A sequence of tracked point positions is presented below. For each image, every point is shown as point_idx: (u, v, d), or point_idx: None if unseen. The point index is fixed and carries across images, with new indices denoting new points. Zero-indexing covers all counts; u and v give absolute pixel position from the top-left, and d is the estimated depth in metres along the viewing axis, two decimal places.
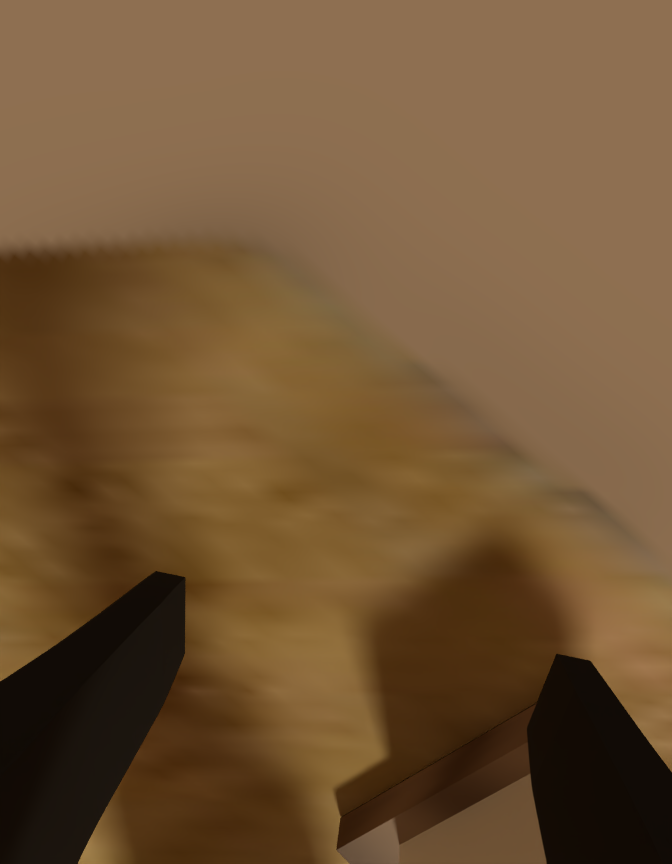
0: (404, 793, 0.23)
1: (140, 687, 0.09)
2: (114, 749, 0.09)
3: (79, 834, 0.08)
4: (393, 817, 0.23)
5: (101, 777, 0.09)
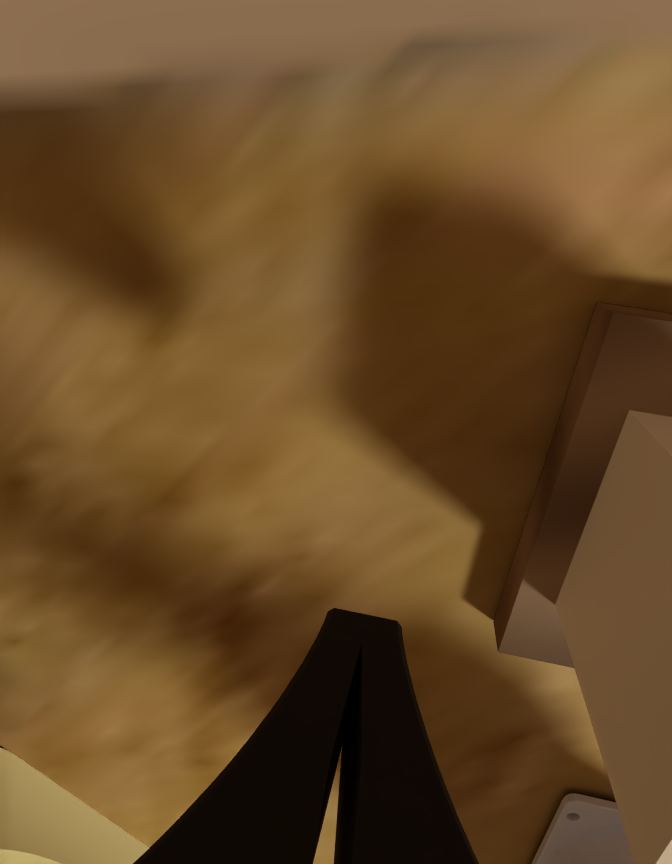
0: (523, 549, 0.18)
1: (342, 733, 0.09)
2: (326, 799, 0.08)
3: None
4: (522, 579, 0.18)
5: (319, 830, 0.08)
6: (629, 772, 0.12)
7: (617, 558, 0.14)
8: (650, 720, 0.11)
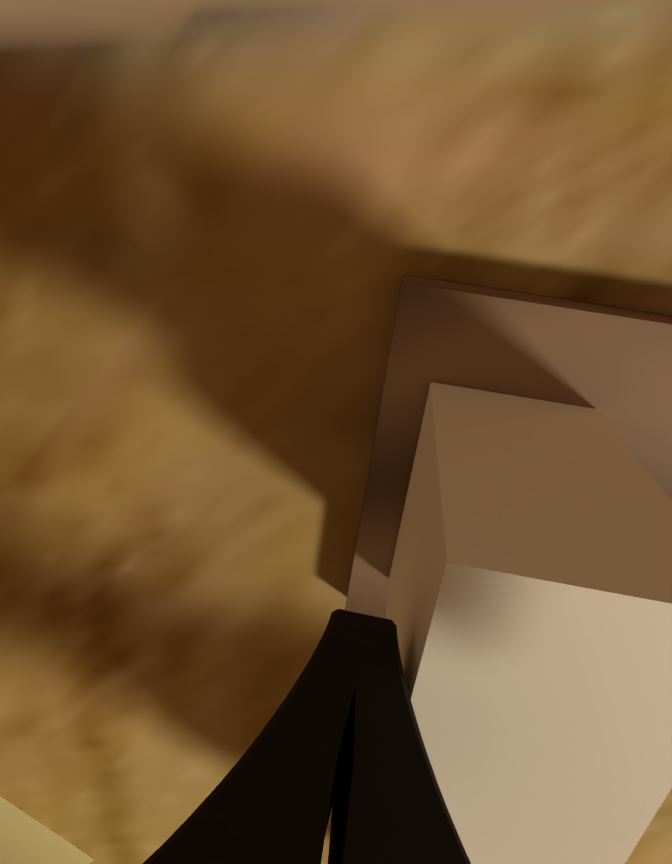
0: None
1: None
2: (331, 801, 0.08)
3: None
4: None
5: None
6: None
7: (408, 528, 0.14)
8: None
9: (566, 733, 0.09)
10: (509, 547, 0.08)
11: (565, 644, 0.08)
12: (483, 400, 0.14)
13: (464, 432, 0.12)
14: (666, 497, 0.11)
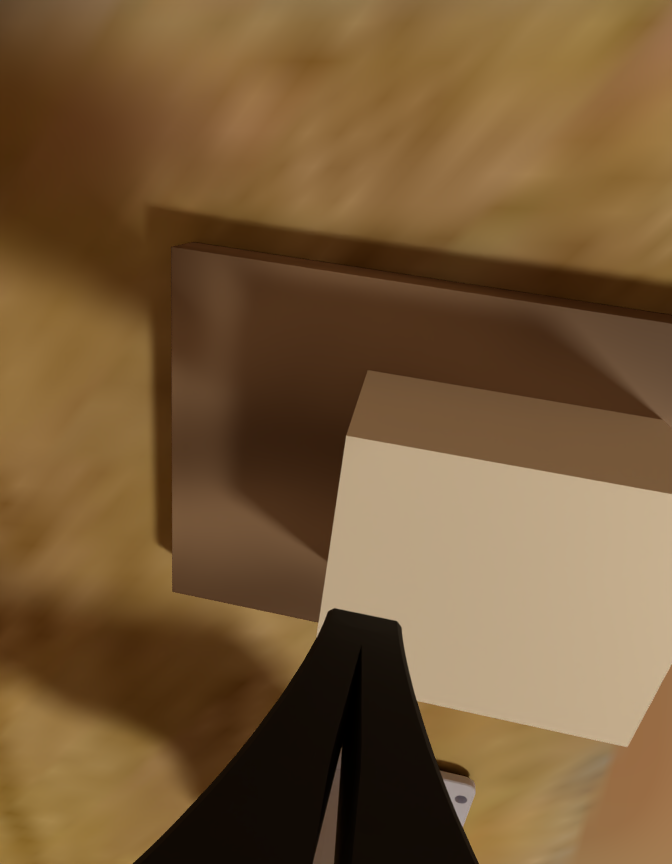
0: None
1: (342, 733, 0.09)
2: (326, 799, 0.08)
3: None
4: (172, 517, 0.18)
5: (319, 830, 0.08)
6: (569, 706, 0.13)
7: (433, 582, 0.12)
8: (581, 662, 0.13)
9: None
10: None
11: None
12: (389, 417, 0.12)
13: (496, 449, 0.11)
14: (532, 399, 0.15)
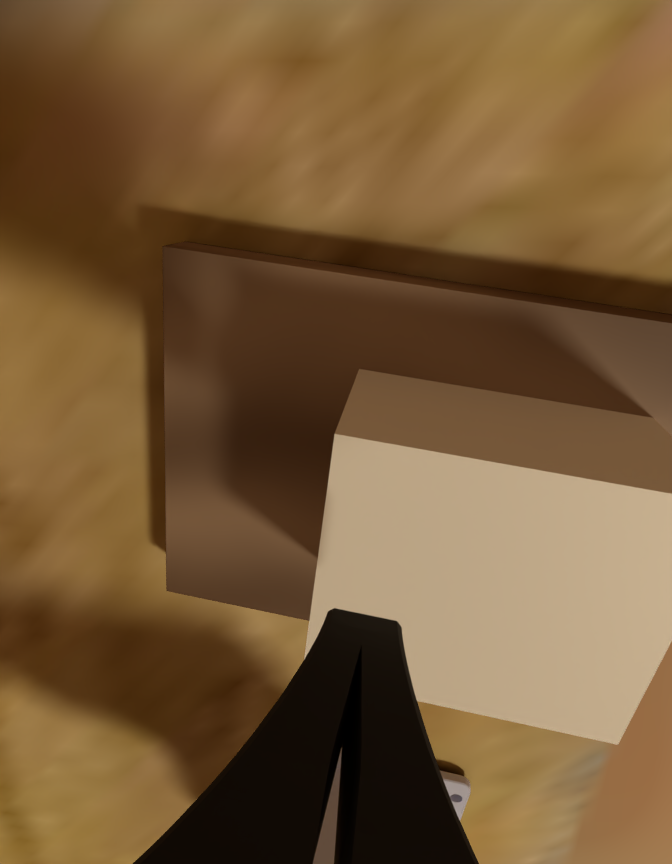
0: None
1: (341, 733, 0.09)
2: (326, 800, 0.08)
3: None
4: (166, 516, 0.18)
5: (319, 830, 0.08)
6: (559, 704, 0.13)
7: (423, 580, 0.12)
8: (570, 659, 0.13)
9: None
10: None
11: None
12: (378, 415, 0.12)
13: (485, 447, 0.11)
14: (523, 398, 0.15)
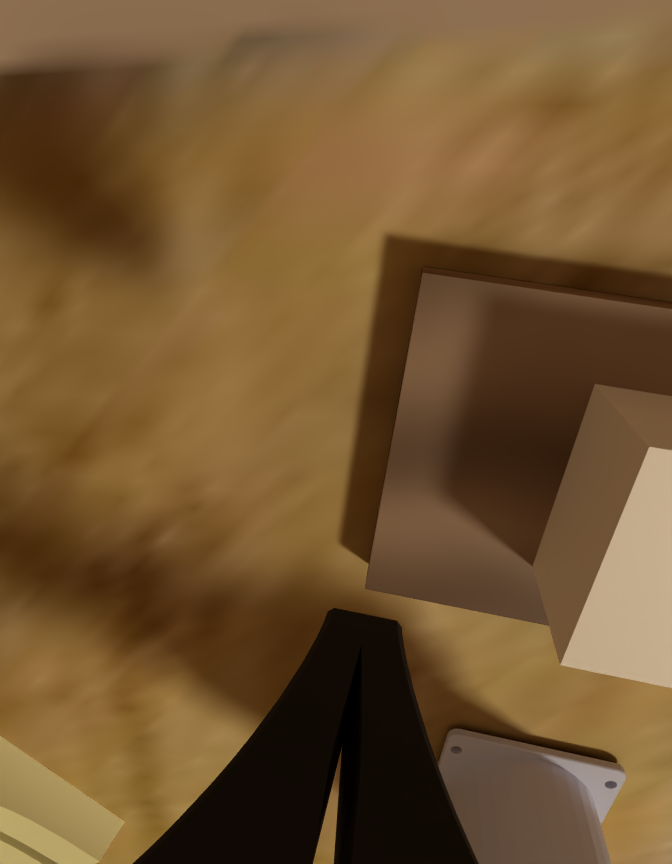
0: (381, 494, 0.20)
1: (342, 733, 0.09)
2: (326, 800, 0.08)
3: None
4: (377, 519, 0.20)
5: (319, 830, 0.08)
6: None
7: None
8: None
9: None
10: None
11: None
12: (662, 429, 0.14)
13: None
14: None
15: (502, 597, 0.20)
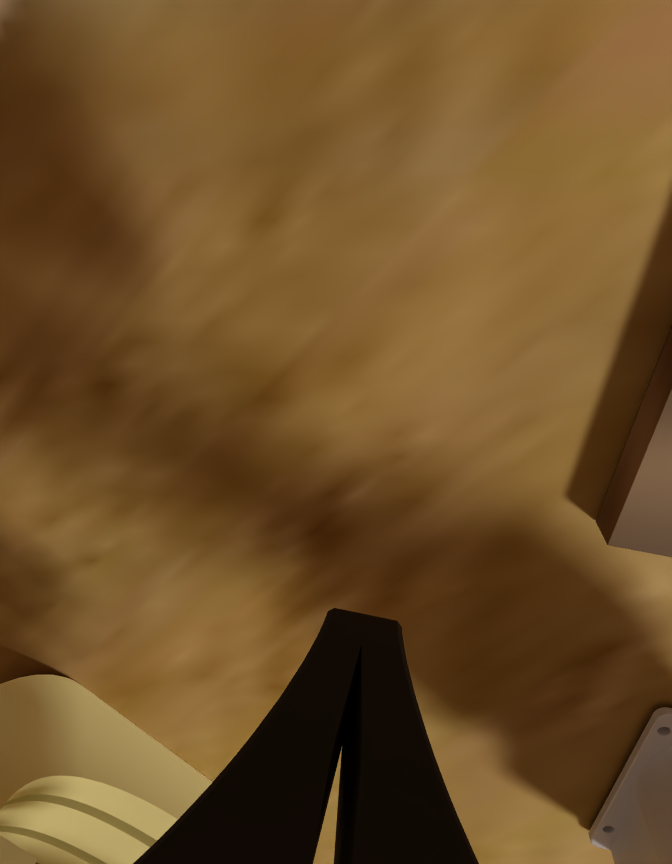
0: (638, 436, 0.18)
1: (342, 733, 0.09)
2: (326, 799, 0.08)
3: None
4: (641, 462, 0.17)
5: (319, 830, 0.08)
6: None
7: None
8: None
9: None
10: None
11: None
12: None
13: None
14: None
15: None
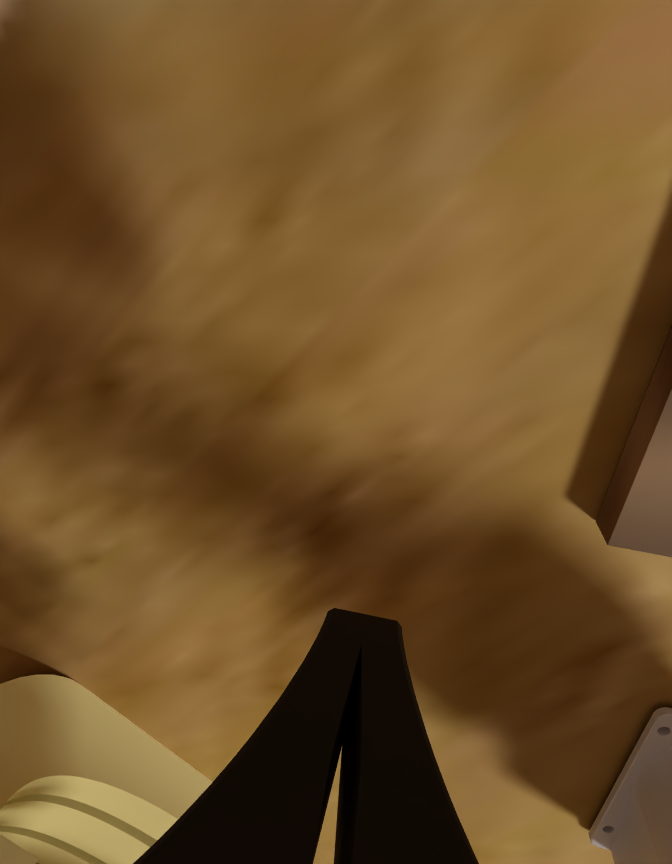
0: (638, 436, 0.18)
1: (342, 733, 0.09)
2: (326, 799, 0.08)
3: None
4: (641, 462, 0.17)
5: (319, 830, 0.08)
6: None
7: None
8: None
9: None
10: None
11: None
12: None
13: None
14: None
15: None
